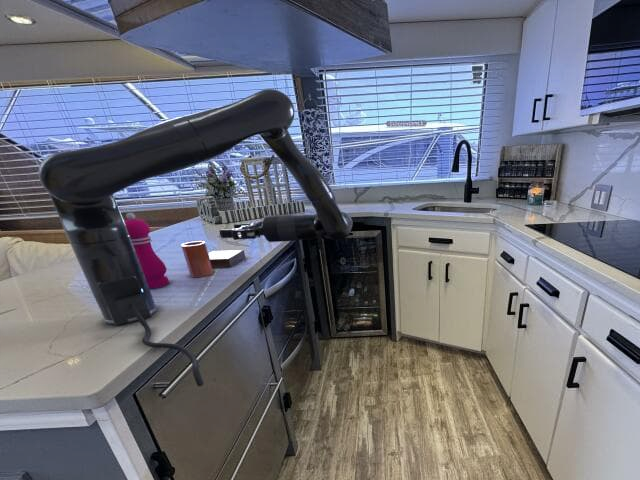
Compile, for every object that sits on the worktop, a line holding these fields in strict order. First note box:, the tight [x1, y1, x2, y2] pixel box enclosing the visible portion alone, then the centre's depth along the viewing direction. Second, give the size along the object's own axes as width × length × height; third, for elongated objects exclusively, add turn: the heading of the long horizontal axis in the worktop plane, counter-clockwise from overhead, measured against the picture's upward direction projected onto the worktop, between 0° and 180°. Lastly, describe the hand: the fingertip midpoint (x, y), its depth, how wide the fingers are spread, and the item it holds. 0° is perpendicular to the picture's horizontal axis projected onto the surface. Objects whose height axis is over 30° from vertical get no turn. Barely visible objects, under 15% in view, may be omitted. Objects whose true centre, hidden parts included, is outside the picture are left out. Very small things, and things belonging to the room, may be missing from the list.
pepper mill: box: [124, 212, 170, 290], centre depth 87 cm, size 7×7×20 cm
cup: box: [180, 240, 214, 278], centre depth 97 cm, size 6×6×10 cm
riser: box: [208, 249, 246, 269], centre depth 108 cm, size 11×11×3 cm
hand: (228, 230), depth 94 cm, fingers open, 8 cm apart
